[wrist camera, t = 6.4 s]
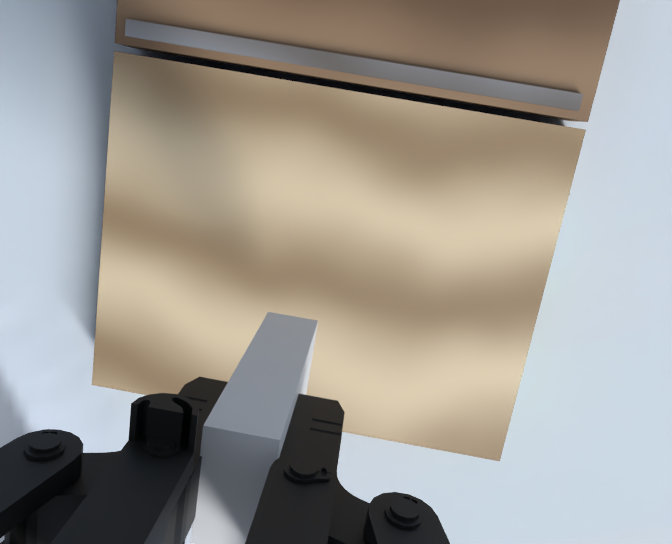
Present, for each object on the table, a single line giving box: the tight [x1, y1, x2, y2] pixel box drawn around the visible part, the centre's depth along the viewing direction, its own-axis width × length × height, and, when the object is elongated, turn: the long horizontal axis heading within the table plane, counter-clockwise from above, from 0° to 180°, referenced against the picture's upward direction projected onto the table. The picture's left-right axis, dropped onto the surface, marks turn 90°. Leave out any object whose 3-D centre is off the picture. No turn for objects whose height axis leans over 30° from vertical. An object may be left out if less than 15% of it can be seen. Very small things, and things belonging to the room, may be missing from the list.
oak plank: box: [92, 51, 586, 461], centre depth 26 cm, size 14×18×2 cm
